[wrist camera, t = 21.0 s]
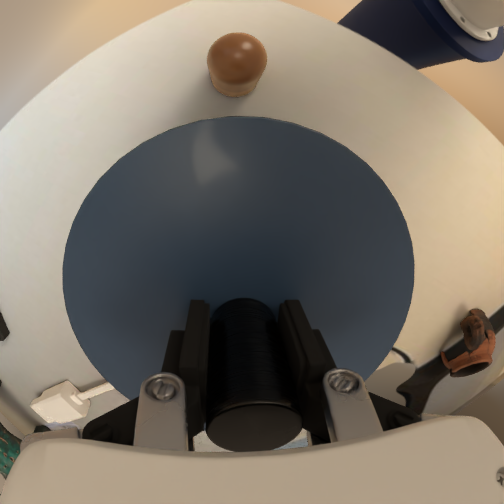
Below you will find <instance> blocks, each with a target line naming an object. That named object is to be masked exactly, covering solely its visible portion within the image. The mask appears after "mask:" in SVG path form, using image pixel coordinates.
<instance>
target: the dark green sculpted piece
mask: <svg viewBox="0 0 504 504" xmlns="http://www.w3.org/2000/svg"><path fill="white" fill-rule="evenodd" d="M1 383H2V382H1V380H0V386H1ZM47 431H51V430H50V429H49V428H48V427H46V426H36V428H35V430H34V432H33V433H38V432H47ZM21 442H22V440H21V439H19V438H17V437H16V436H14V435H13V434H11V433H10V432H9V431H7V429H6V428H5V427H4V426H3V425H2V424H1V423H0V473H1V474H2V475H3V477H4V478H5V479H7V476H8V474H9V472H10V470H11V468H12V466H13V464H14V462H15V461H16V459H17V457H18V456H19V454H20V445H21ZM3 473H4V474H3ZM0 495H1V494H0Z"/></svg>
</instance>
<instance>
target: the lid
mask: <svg viewBox="0 0 504 504" xmlns="http://www.w3.org/2000/svg"><path fill="white" fill-rule="evenodd" d="M413 287H414V255H413V247H412V241H411V238H410V234H409V230H408V227H407V223H406V221H405V219H404V216H403V214H402V212H401V210H400V207H399V205H398V203H397V201H396V200H395V198H394V196H393V195H392V193H391V192H390V190H389V189H388V187H387V186H386V184H385V183H384V181H383V180H382V179H381V178H380V177H379V176H378V175H377V174H376V173H375V172H374V170H373V169H372V168H371V167H370V166H369V165H368V164H367V163H366V162H365V161H363V160H362V159H361V158H360V157H358V156H357V155H356V154H355V153H353V152H352V151H351V150H349V149H348V148H347V147H346V146H344V145H342V144H340V143H339V142H337V141H335V140H333V139H331V138H330V137H328V136H326V135H324V134H322V133H320V132H317V131H315V130H312V129H309V128H307V127H304V126H301V125H298V124H295V123H292V122H287V121H282V120H276V119H271V118H265V117H248V116H229V117H220V118H213V119H206V120H199V121H196V122H192V123H189V124H186V125H182V126H179V127H176V128H173V129H170V130H168V131H165V132H163V133H161V134H159V135H157V136H155V137H153V138H151V139H149V140H147V141H145V142H143V143H142V144H140V145H139V146H137V147H136V148H134V149H133V150H131V151H130V152H129V153H127V154H126V155H124V156H123V157H122V158H120V159H119V160H118V161H117V162H116V163H115V164H114V165H113V166H112V167H111V168H110V169H109V170H108V171H107V172H106V173H105V174H104V175H103V176H102V177H101V178H100V179H99V180H98V181H97V183H96V184H95V185H94V187H93V188H92V190H91V191H90V192H89V194H88V195H87V197H86V198H85V199H84V201H83V203H82V205H81V207H80V209H79V211H78V213H77V215H76V217H75V219H74V221H73V224H72V227H71V230H70V233H69V236H68V239H67V243H66V247H65V254H64V261H63V293H64V299H65V306H66V310H67V314H68V317H69V320H70V323H71V326H72V329H73V331H74V334H75V336H76V338H77V340H78V342H79V344H80V346H81V348H82V349H83V351H84V353H85V354H86V356H87V357H88V359H89V360H90V362H91V363H92V364H93V366H94V367H95V368H96V369H97V370H98V372H99V373H100V374H101V375H102V376H103V377H104V378H105V379H106V380H107V381H108V382H109V383H110V384H111V385H112V386H113V387H114V388H115V389H116V390H117V391H119V392H120V393H121V394H123V395H124V396H125V397H127V398H128V399H129V400H133V399H135V398H136V397H138V396H140V389H141V385H142V382H143V381H144V380H145V379H146V378H147V377H148V376H150V375H152V374H155V373H160V372H161V370H162V365H163V361H164V357H165V352H166V348H167V344H168V340H169V336H170V332H171V330H185V328H186V322H187V317H188V311H189V306H190V301H191V299H195V300H204V302H205V303H209V304H210V339H209V359H208V381H207V398H206V423H204V429H206V433H207V436H208V437H209V439H210V440H211V441H212V442H213V443H214V444H216V445H217V446H219V447H221V448H224V449H226V450H230V451H234V452H251V451H268V450H273V449H276V448H279V447H281V446H283V445H285V444H287V443H289V442H290V441H292V440H293V439H294V438H295V437H296V436H297V435H298V434H299V433H300V432H301V430H302V427H303V422H304V420H303V415H302V412H301V408H300V405H299V401H298V397H297V394H296V390H295V387H294V383H293V379H292V376H291V372H290V369H289V365H288V361H287V358H286V354H285V351H284V347H283V344H282V340H281V336H280V333H279V329H278V326H277V323H278V314H279V306H280V303H284V301H285V300H299V301H300V303H301V306H302V308H303V310H304V312H305V315H306V317H307V319H308V321H309V324H310V326H311V328H312V329H319V330H320V332H321V334H322V336H323V338H324V341H325V343H326V345H327V347H328V349H329V351H330V353H331V356H332V358H333V360H334V362H335V364H336V366H337V368H347V369H351V370H353V371H355V372H357V373H358V374H359V375H360V376H361V378H362V379H363V381H365V380H366V379H367V378H368V377H369V376H370V375H371V374H372V373H373V372H374V371H375V370H376V369H377V368H378V367H379V365H380V364H381V363H382V361H383V360H384V359H385V357H386V356H387V355H388V353H389V352H390V350H391V348H392V347H393V345H394V343H395V342H396V340H397V338H398V336H399V334H400V332H401V330H402V327H403V325H404V323H405V320H406V317H407V314H408V311H409V307H410V304H411V299H412V293H413Z"/></svg>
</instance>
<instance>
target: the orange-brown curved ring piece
mask: <svg viewBox="0 0 504 504" xmlns="http://www.w3.org/2000/svg"><path fill="white" fill-rule="evenodd" d="M470 312H471V314H472V315H473V316H468V317H466V318H464V319H463V321H462V322H461V323H460V325H461V328H462V330H463V333H464V339H465V345H466V346H467V347H468V349H469V350H473V351H472V352H471V353H470V354H469V353H468V352H467V351H466V352H465V353H463V354H462V355H459V356H458V357H457V358H456V359H453V360H451V361H450V362H449V361H448V360H447V359H446V357H445V354H444V352H443V351H442V352H441V356H442V360H443V363H444V364H445V366H446V367H447V368H448V369H450V376H451V377H464V376H468V375H472V374H475V373H478V372H480V371H482V370H484V369H485V368H487V367H488V366H489V365H490V364H491V363H492V357H491V355H492V353H493V350H494V348H495V333H494V330H493V327H492V326H491V323H490V321H489V320H488V318H487V317H486V315H485V313H484V312H483V311H482V310H479V309H477V310H476V309H475V310H471V311H470ZM484 333H485V335H486V338H485V335H484Z"/></svg>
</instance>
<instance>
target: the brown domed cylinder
mask: <svg viewBox="0 0 504 504" xmlns="http://www.w3.org/2000/svg"><path fill="white" fill-rule="evenodd" d="M207 64H208V68H209V72H210V76H211V80H212V83H213V85H214V87H215V88H216V89H217V90H218V91H219V92H220V93H222V94H224V95H226V96H230V97H240V96H243V95H246V94H248V93H250V92H251V91H252V90H253V89H254V88H255V87H256V85H257V83H258V81H259V80H260V78H261V76H262V74H263V72H264V70H265V68H266V65H267V53H266V50H265V48H264V46H263V45H262V43H261V42H260V41H259V40H258V39H256V38H255V37H253V36H251V35H249V34H246V33H230V34H226V35H224V36H222V37H220V38H219V39H217V40H216V41H215V42H214V43H213V45H212V46H211V48H210V49H209V52H208V56H207Z"/></svg>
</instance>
